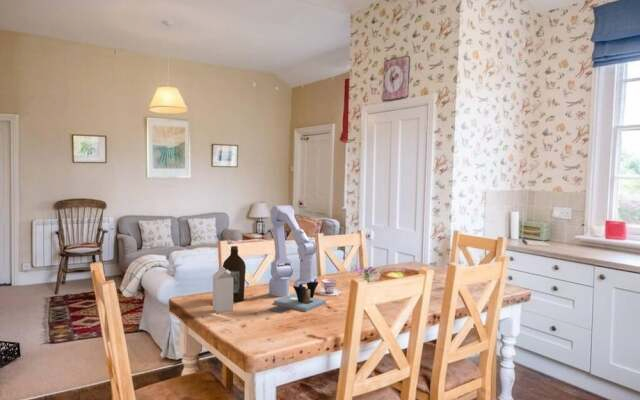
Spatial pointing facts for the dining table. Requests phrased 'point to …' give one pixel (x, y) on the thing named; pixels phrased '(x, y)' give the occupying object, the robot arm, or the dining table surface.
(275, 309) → the pad
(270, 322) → the dining table surface
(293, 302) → the hole plate
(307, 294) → the walnut peg
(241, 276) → the olive oil
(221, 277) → the milk carton
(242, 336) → the dining table surface
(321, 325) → the dining table surface
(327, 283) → the teacup
